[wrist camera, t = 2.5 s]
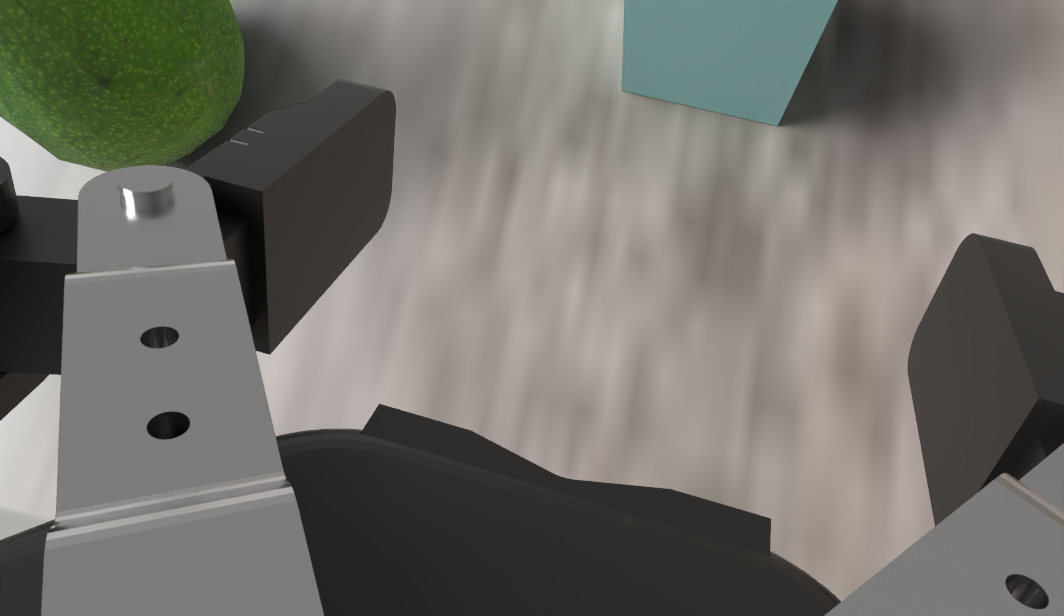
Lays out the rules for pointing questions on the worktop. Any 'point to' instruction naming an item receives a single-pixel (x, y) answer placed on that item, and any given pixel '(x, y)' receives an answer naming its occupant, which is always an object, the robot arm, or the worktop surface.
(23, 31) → the avocado
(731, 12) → the teal open-top bin
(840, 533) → the worktop surface
